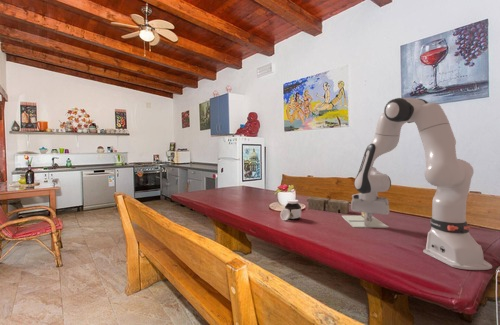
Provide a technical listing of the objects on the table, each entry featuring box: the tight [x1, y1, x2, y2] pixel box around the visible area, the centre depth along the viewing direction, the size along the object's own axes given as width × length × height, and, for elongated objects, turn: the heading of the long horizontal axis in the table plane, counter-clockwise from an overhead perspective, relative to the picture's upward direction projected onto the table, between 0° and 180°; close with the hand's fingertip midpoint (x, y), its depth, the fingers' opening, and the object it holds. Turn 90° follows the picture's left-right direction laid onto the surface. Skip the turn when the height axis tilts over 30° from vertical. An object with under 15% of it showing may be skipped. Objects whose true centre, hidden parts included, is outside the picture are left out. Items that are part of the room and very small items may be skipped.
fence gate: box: [364, 215, 370, 226], centre depth 150 cm, size 11×1×5 cm, turn 144°
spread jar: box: [279, 199, 302, 221], centre depth 165 cm, size 12×11×12 cm
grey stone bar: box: [306, 196, 350, 215], centre depth 187 cm, size 8×8×29 cm
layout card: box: [341, 215, 390, 229], centre depth 157 cm, size 24×19×1 cm
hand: (369, 220), depth 147 cm, fingers closed, pressing on fence gate
